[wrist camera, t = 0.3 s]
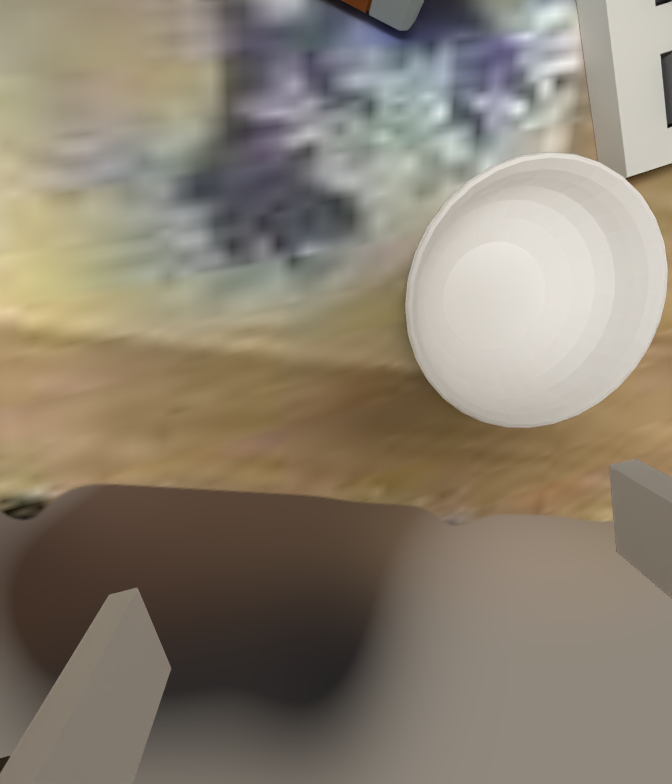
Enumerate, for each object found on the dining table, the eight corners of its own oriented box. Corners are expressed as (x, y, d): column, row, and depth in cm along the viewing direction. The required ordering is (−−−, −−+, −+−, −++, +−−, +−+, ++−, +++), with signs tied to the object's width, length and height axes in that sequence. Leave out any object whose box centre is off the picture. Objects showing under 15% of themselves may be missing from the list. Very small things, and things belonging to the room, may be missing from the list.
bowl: (617, 346, 40) (696, 362, 32) (431, 433, 41) (463, 470, 33) (557, 138, 35) (632, 97, 27) (347, 240, 36) (361, 229, 28)
